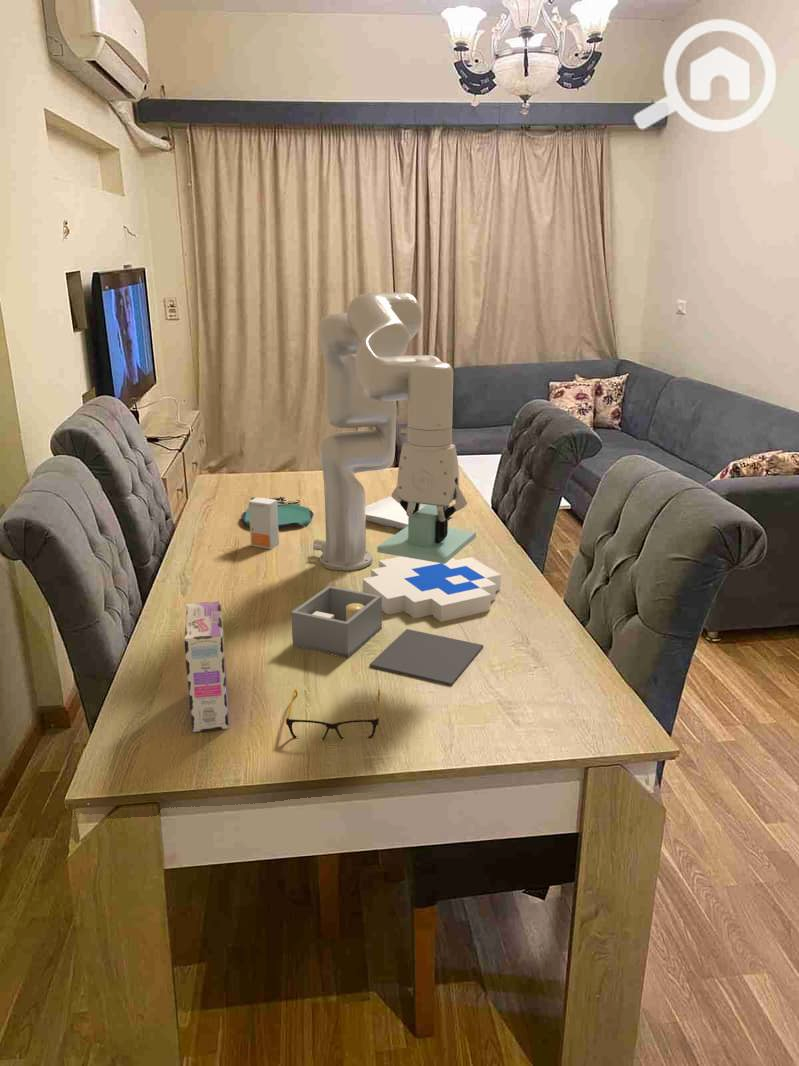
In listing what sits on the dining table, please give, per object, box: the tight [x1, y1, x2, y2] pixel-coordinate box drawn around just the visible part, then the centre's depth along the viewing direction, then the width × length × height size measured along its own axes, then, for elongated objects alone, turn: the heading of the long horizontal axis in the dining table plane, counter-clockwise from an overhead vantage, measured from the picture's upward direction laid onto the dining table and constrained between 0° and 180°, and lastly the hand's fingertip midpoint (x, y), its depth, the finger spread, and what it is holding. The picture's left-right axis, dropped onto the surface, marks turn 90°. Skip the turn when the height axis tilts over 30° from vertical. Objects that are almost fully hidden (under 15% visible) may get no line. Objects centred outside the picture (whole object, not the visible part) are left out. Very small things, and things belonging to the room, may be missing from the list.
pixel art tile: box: [362, 556, 502, 623], centre depth 180 cm, size 28×4×28 cm
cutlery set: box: [240, 496, 314, 528], centre depth 232 cm, size 20×30×2 cm, turn 8°
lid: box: [376, 505, 477, 564], centre depth 144 cm, size 13×15×6 cm
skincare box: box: [248, 496, 280, 550], centre depth 206 cm, size 6×4×12 cm
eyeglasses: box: [285, 688, 381, 740], centre depth 132 cm, size 14×14×4 cm
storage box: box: [290, 585, 383, 659], centre depth 159 cm, size 12×14×7 cm
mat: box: [369, 628, 484, 687], centre depth 152 cm, size 16×16×1 cm
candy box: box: [183, 600, 230, 733], centre depth 132 cm, size 14×6×16 cm, turn 12°
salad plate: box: [365, 495, 452, 530], centre depth 228 cm, size 21×21×3 cm
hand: (428, 537), depth 145 cm, fingers closed on lid, 4 cm apart
